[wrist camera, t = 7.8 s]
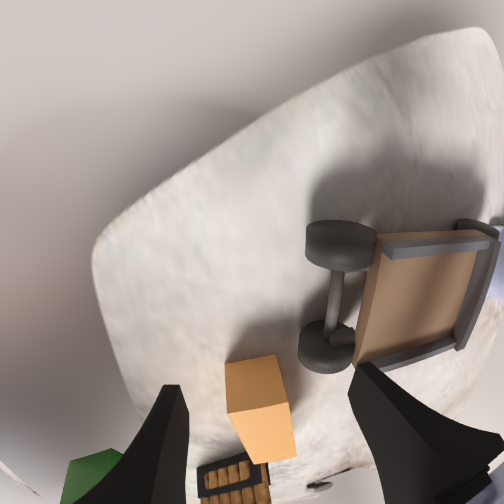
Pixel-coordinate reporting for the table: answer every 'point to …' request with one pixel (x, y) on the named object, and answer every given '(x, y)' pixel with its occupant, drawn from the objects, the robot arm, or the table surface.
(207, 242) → the table surface
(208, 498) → the ammunition clip
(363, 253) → the dolly
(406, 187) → the table surface
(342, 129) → the table surface
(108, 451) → the hardback book
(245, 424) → the block
